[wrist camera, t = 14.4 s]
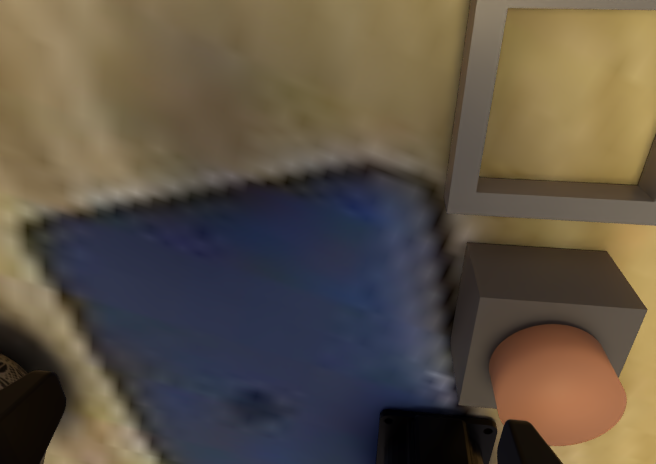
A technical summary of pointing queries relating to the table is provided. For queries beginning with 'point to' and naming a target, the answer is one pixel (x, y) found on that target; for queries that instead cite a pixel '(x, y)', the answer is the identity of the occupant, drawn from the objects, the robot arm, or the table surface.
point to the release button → (557, 383)
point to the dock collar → (514, 194)
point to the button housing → (536, 306)
